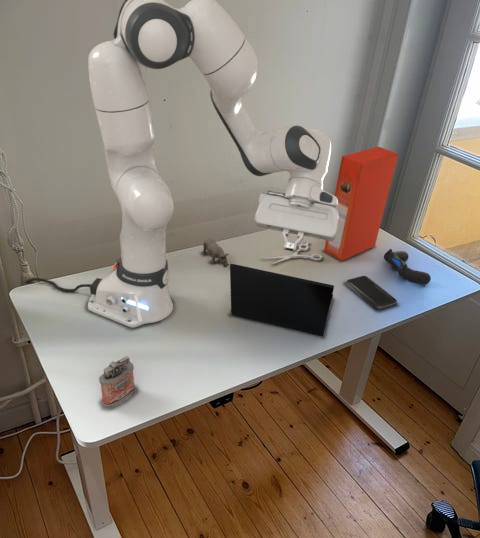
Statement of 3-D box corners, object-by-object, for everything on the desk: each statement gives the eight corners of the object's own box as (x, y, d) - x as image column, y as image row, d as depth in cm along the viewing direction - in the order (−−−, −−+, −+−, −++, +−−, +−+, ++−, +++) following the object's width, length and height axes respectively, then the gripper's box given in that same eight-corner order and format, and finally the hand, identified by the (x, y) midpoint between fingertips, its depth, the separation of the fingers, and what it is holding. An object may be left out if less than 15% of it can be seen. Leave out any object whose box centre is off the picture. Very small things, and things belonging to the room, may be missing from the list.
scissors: (327, 256, 163) (275, 269, 154) (327, 258, 164) (275, 271, 155) (308, 241, 170) (258, 252, 161) (308, 243, 171) (257, 254, 162)
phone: (378, 307, 142) (345, 280, 152) (377, 311, 142) (344, 283, 152) (399, 301, 145) (365, 274, 155) (398, 304, 146) (365, 278, 156)
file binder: (323, 250, 168) (342, 155, 148) (356, 237, 177) (378, 146, 157) (341, 261, 163) (363, 164, 143) (374, 246, 172) (399, 154, 153)
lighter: (108, 410, 107) (104, 376, 100) (99, 402, 108) (94, 368, 102) (138, 391, 112) (136, 358, 105) (129, 383, 113) (126, 350, 107)
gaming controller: (395, 265, 168) (376, 253, 163) (407, 251, 166) (388, 239, 161) (422, 293, 156) (402, 282, 150) (435, 279, 154) (415, 267, 148)
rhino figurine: (222, 274, 152) (223, 257, 148) (199, 253, 161) (200, 236, 157) (233, 271, 154) (234, 254, 150) (211, 250, 162) (211, 233, 159)
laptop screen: (230, 262, 121) (229, 265, 120) (334, 285, 116) (333, 287, 116) (231, 310, 135) (230, 312, 134) (324, 331, 130) (323, 334, 130)
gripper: (260, 184, 123) (246, 237, 121) (344, 199, 119) (330, 254, 117) (262, 194, 129) (249, 245, 127) (342, 209, 125) (330, 262, 123)
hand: (289, 250), depth 122 cm, fingers closed
